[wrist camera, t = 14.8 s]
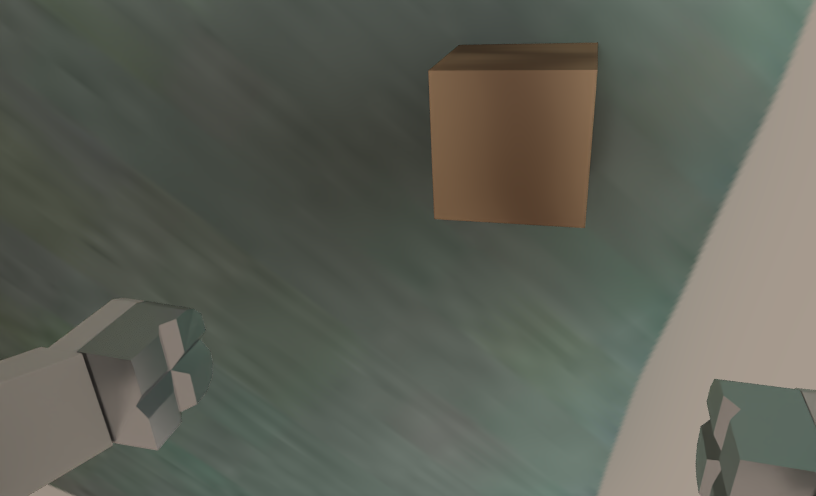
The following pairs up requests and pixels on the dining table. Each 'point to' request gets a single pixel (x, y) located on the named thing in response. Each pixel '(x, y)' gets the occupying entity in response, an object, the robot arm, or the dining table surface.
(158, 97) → the dining table surface
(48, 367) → the robot arm
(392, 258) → the dining table surface
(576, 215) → the cube
